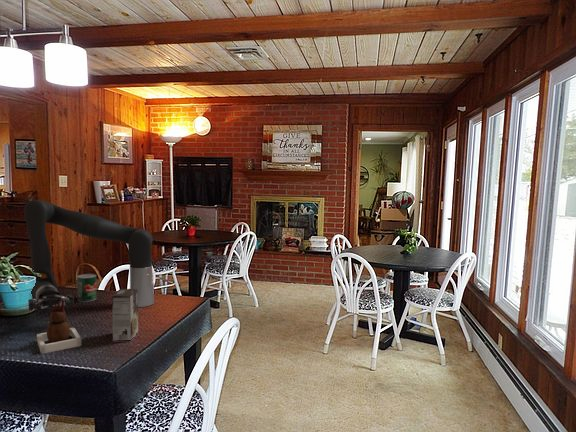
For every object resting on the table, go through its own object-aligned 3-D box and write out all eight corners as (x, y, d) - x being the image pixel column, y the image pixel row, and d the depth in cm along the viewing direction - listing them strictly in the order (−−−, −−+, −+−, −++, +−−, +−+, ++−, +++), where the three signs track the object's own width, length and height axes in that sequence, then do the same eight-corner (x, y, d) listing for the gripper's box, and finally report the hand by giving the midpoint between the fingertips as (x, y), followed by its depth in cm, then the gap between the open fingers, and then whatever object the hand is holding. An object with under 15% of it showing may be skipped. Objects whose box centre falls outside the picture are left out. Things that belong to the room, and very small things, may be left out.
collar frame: (74, 334, 144) (74, 327, 144) (81, 345, 134) (81, 338, 134) (37, 341, 137) (36, 334, 137) (41, 354, 128) (41, 346, 127)
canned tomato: (90, 302, 182) (90, 278, 181) (73, 301, 182) (73, 277, 181) (100, 297, 189) (99, 274, 188) (83, 296, 190) (83, 273, 189)
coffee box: (120, 331, 148) (120, 288, 146) (138, 331, 148) (138, 288, 147) (111, 341, 138) (111, 295, 137) (131, 341, 139) (130, 295, 138)
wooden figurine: (73, 341, 138) (72, 298, 137) (59, 348, 132) (57, 303, 131) (58, 338, 140) (57, 296, 139) (43, 344, 135) (42, 300, 133)
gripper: (25, 289, 151) (30, 299, 138) (68, 283, 160) (76, 293, 147) (26, 308, 152) (30, 321, 139) (68, 302, 160) (76, 313, 148)
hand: (54, 306), depth 143 cm, fingers open, 8 cm apart
